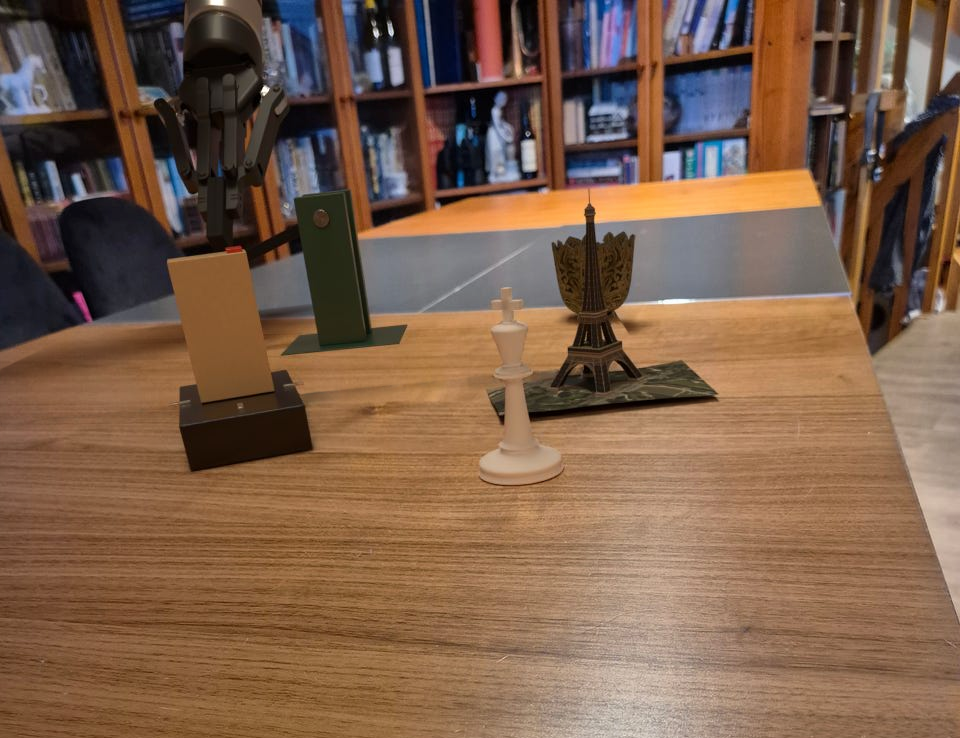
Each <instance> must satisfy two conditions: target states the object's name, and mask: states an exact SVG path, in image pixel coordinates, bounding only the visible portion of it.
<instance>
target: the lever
mask: <svg viewBox="0 0 960 738" xmlns="http://www.w3.org/2000/svg"><path fill="white" fill-rule="evenodd" d="M299 237H300V233H299V227H298V223H296V224H294V225H292V226H289V227H287V228H286V229H284V230H283V231H280V232H278V233H277V234H275V235H272V236H271V237H269V238H267V239H265V240H263V241H261V242H259V243H257V244H255V245H253V246H251V247H250V248H248V249H244V250H245V251H246V254H247V259H248V263H251V262H253V261H255V260H256V259H258V258H260V257H262V256H265V255H267V254H268V253H270V252H272V251H274V250H276V249H278V248H279V247H282V246H283V245H285V244H288V243H289V242H291V241H293V240H295V239H297V238H299Z"/></svg>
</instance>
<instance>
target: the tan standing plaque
mask: <svg viewBox="0 0 960 738" xmlns="http://www.w3.org/2000/svg"><path fill="white" fill-rule="evenodd" d="M225 249H226V252H219V253H214V252H211V253H205V254H197V255H189V256H183V257H175V258H167V261H166V265H167V269H168V274H169V278H170V282H171V286H172V289H173V295H174V297H175V303H176V305H177V310H178V314H179V318H180V322H181V327H182V330H183V334H184V339H185V342H186V346H187V351H188V355H189V360H190V363H191V367H192V372H193V376H194V380H195V384H197V388H198V392H199V396H200V400H201V403H206V402H212V401H218V400H224V399H230V398H236V397H242V396H248V395H254V394H260V393H267V392H273V391H274V385H273V380H272V375H271V372H272V371H271V366H270V361H269V357H268V352H267V346H266V343H265V337H264V333H263V327H262V323H261V318H260V313H259V308H258V304H257V303H258V302H257V298H256V293H255V288H254V282H253V279H252V278H253V277H252V273H251V268H250V264H249V263H250V262H249V263H248V259H247V254H246V251H245V250H246V249H243V247H242V246H241V245H235V246H233V247H227V248H225Z"/></svg>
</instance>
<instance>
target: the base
mask: <svg viewBox="0 0 960 738" xmlns="http://www.w3.org/2000/svg"><path fill="white" fill-rule="evenodd" d="M271 375H272V380H273V385H274V391H273V392H267V393H260V394H254V395H248V396H242V397H236V398H230V399H224V400H218V401H212V402H206V403H201V400H200V396H199V392H198V388H197V384H196V383H194V384H189V385H182V386H179V390H178V391H179V392H178V394H179V396H178V400H179V401H174V402H169V404H168V405H169V407H176V406H178V407H179V408H178V428H179V432H180V436H181V440H182V443H183V447H184V452H185V454H186V455H185V456H186V459H187V462H188V466H189V470H190V471H191V472H193V471H197V470H204V469H209V468H215V467H216V468H217V467H222V466H227V465H233V464H238V463H243V462H249V461H254V460H255V461H256V460H261V459H265V458H271V457H272V458H273V457H277V456H278V457H279V456H284V455H288V454H294V453H301V452H305V451H312V450H313V449H314V445H313V441H312V436H311V429H310V426H309V420H308V414H307V410H306V405H305V402H304V401H303V399H302V397H301V395H300V393H299V391H298V389H297V388H296V387H297V386H304V385H305V384H304V381H297V382H293V379H292V378H291V375H290V373H289V372H288V370H287V369H282V370H275V371H271Z"/></svg>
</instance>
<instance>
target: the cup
mask: <svg viewBox="0 0 960 738" xmlns="http://www.w3.org/2000/svg"><path fill="white" fill-rule="evenodd" d="M635 243H636V234H634V233H631V234H630V235H629V236H628V234H627V232H626V231H624V230H623V231H621V232H619V233H617V234H616V235H614V233H612V232H611V231H607V233H606V234H604V236H603V238H602V242H599V241H596V244H597V254H598V263H599V272H600V281H601V287H602V294H603V300H604V304H605V308H606V309H608V311H607V316H608V318H609V320H613V319H614V318H616V314H615V312H614V311H616V310H618V309H619V308H621V307H622V305H623V304H624V303H625V302H626V300H627V298H628V296H629V293H630V289H631V283H632V276H633V266H634V257H635V256H634V255H635ZM585 249H586V234H584V235H583V237H582V239H580V238H578V237H575V236H572V235H569V236H568V237H567V238H566V240H565V242H564V243H563V241H562V240H560V239H557V240H556V242H554V241H552V242H551V250H552V256H553V263H554V269H555V276H556V280H557V287H558V290H559V294H560V298H561V300H562V302H563V304H564V306H565V307H566V308H567V309H568V310H570V311H571V312H572V313H575V314H577V317H576V321H578V322H579V321H580V314H579V312H581V310H582V304H583V294H584V281H585Z"/></svg>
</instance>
